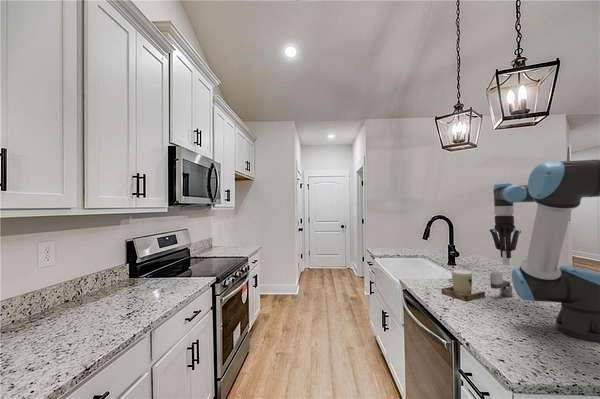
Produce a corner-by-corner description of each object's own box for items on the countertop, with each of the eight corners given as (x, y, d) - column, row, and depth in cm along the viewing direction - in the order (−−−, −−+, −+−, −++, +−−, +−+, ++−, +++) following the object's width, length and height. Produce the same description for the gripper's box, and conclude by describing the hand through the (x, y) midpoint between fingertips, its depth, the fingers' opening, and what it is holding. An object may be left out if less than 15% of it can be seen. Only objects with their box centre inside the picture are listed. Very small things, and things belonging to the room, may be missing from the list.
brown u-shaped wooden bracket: (485, 296, 146) (484, 291, 146) (466, 301, 140) (466, 296, 140) (459, 289, 158) (459, 284, 158) (441, 293, 152) (441, 288, 152)
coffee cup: (475, 298, 143) (474, 274, 143) (453, 297, 146) (453, 273, 146) (470, 293, 152) (469, 270, 152) (450, 291, 155) (450, 269, 155)
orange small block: (479, 288, 160) (479, 287, 160) (478, 288, 159) (478, 288, 159) (474, 287, 162) (474, 286, 162) (473, 287, 161) (473, 286, 161)
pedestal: (514, 296, 145) (514, 286, 145) (508, 297, 143) (508, 287, 143) (504, 293, 150) (503, 283, 150) (498, 295, 148) (497, 285, 148)
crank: (504, 284, 149) (503, 269, 149) (511, 285, 146) (511, 271, 146) (489, 287, 144) (489, 272, 144) (497, 289, 141) (496, 274, 141)
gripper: (523, 215, 135) (526, 266, 134) (494, 215, 146) (496, 262, 145) (514, 215, 131) (517, 267, 130) (485, 215, 143) (487, 263, 142)
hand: (506, 264), depth 138 cm, fingers closed
